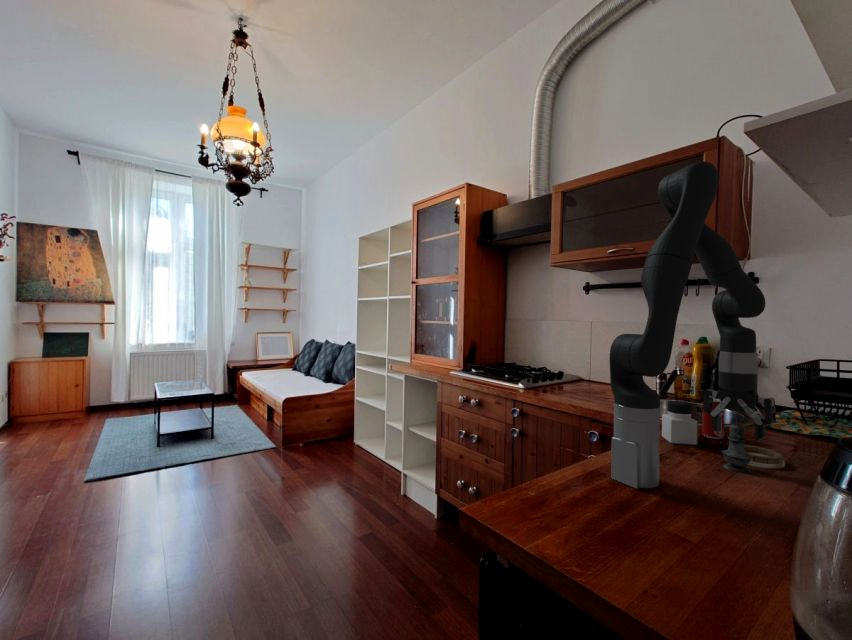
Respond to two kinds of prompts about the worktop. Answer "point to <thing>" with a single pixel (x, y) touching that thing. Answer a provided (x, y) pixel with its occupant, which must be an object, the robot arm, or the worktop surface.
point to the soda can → (707, 423)
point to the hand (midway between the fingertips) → (737, 435)
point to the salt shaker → (736, 450)
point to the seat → (764, 457)
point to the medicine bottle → (679, 423)
